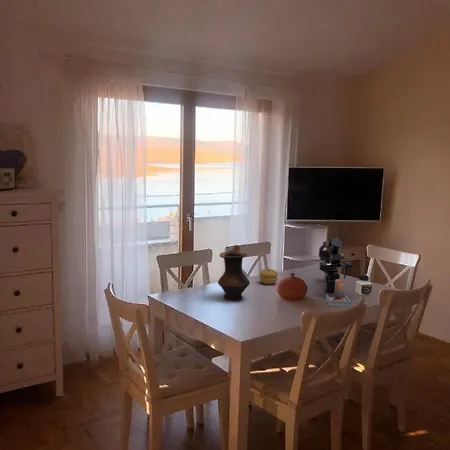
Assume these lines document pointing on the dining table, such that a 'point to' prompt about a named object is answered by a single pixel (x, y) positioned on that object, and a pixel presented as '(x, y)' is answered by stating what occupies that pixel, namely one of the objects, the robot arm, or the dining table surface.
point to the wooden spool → (338, 290)
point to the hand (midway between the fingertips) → (336, 278)
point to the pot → (268, 276)
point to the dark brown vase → (233, 274)
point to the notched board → (338, 302)
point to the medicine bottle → (363, 285)
